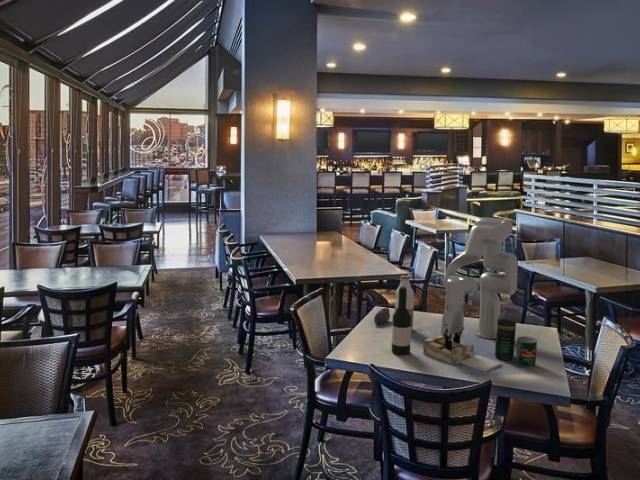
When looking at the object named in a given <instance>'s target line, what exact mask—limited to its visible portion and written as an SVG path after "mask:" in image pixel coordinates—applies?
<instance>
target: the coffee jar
mask: <svg viewBox="0 0 640 480" xmlns="http://www.w3.org/2000/svg"><path fill="white" fill-rule="evenodd" d="M516 327H517V320H516V317H515V316H513V315H511V314H500V316H499V317H498V319H497V331H496V339H495V347H494V356H495V358H496V359H500V360H501V361H502V360H503V361H507V360H508V361H511V360H513V359H514V355H515V342H516V333H517V332H516V329H517V328H516Z"/></svg>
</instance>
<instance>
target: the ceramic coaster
mask: <svg viewBox="0 0 640 480" xmlns="http://www.w3.org/2000/svg"><path fill="white" fill-rule="evenodd" d="M460 364H462V365H464V366H466V367H467V366H468V367H470V368H473V369H475V370H479V371H482V372H485V373H486V372H488V371H491V370H493V369H496V368H498V367H502V365H503V363H502V362H501V361H500V362H499V361H497V360H494V359H491V358H488V357H484V356H482V355H479V354H477V355H473V357H471V358H468V359H465V360H463V361H461V363H460Z"/></svg>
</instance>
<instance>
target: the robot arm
mask: <svg viewBox="0 0 640 480" xmlns="http://www.w3.org/2000/svg"><path fill="white" fill-rule="evenodd" d="M512 232H513V222H512V221H511V220H510V219H507V218H498V217H496V218H495V217H482V216H481V217H477V218H476V219H475V221H474V225H473V226H472V227H470V230H469V232H468V235H467V239H466V241H465V245H464V247H463V250H462V253H461V254H459V255H457V256H456V257H455V258H454V259H453V260H451V262H450V263H449V264H448V266H447V268H446V270H445V274H444V278H443V282H442V284H443V288H444V289H445V304H444V305H445V306H444V310H443V314H442V320H441V323H442V333H441V332H440V335H442V336H443V337H444V339H445V348H446V349H449V350H451V349H452V341H451V338H452V334H454V337H453V342H456V343H459V344H461V338H462V334H463V331H464V330H465V325H464V323H465V320H464V319H465V318H464V317H465V316H464V295H470V294H472V293H474V292H475V291H476V289H477V286H478V285H477V281H476V279H475V278H474V277H471V276H468V275H460V274H456V273H457V272H458V271H459V269H461V268H462V267H465V266H468V265H471V264H474V263H477V262H480V261H481V260H482V265H483V267H484V269H486V270H489V271H491V272H484V273H482V274H481V275H479V280H478V282H479V283H478V284H479V292H480V294H479V295H480V303H479V319H478V329H477V330H475V333H474V334H475V336H477V337H479V338H482V339H487V340H488V339H489V340H496V331H497V319H498V317H499V316H501V299H500V296H499V295H498V294H501V295H507V296H511V295H514V294H515V293H516V292H517V288H518V287H517V286H518V258H517V256H516V255H515V254H514V253H513V252H512V253H511V252H504V251H503V250H502V249H503V247H502V246H503V242H504V241H505V240H506V239H507V238H509V237H510V235H512ZM492 271H493V272H492ZM498 272H500V273H498ZM448 332H449V333H448ZM448 334H449V337H448Z"/></svg>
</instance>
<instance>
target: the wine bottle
mask: <svg viewBox="0 0 640 480" xmlns="http://www.w3.org/2000/svg"><path fill="white" fill-rule="evenodd" d="M406 295H407V289H406V287H404V286H401V287H400V288H399V306H398V308H397V310H396V311H395V310H394V313H393V314H392V325H391V326H392V332H391V352H392V353H391V354H394V355H396V356H407V355H410V354H411V342H412V341H411V339H412V334H411V333H412V331H411V316H410V314H409V312H408V310H407V308H406Z"/></svg>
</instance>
